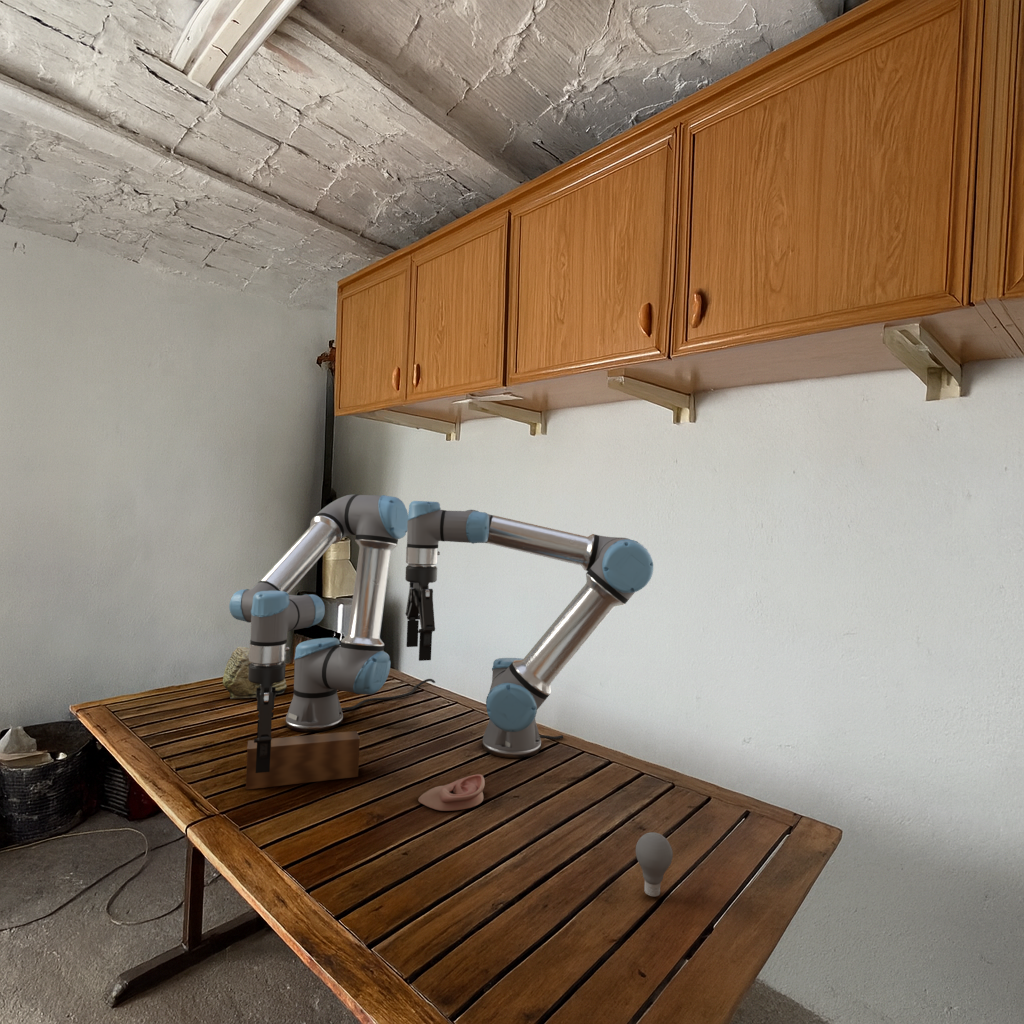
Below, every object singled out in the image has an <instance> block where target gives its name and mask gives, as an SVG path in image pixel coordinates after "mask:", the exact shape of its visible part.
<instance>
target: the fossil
mask: <svg viewBox="0 0 1024 1024" xmlns="http://www.w3.org/2000/svg"><path fill="white" fill-rule="evenodd" d="M249 649H250V647H247V646H246V647H245V646H238V647H237V648H236V649H235V650H233V651H232V653H231V656H230V657H229V659H228V660H227V663H226V666H225V668H224V671H223V675H222V676H223V677H222V685H223V687H224V688H225V690H226V691H228V693H229V698H230V699H250V698H256V691H257V688H260V684H258V683H257V684H255V683H252V682H250V681H249V680H248V674H249V665H250V664H251V662H250V661H249ZM272 687H276V695H281V694H284V693H285V691H286V689H287V687H288V686H287V680H286V677H285V678H284V680H283V681H281V682H278V683H273V684H272Z"/></svg>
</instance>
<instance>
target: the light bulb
mask: <svg viewBox="0 0 1024 1024" xmlns="http://www.w3.org/2000/svg"><path fill="white" fill-rule="evenodd" d="M673 853H674V852H673V848H672V845H671V844H670V842H669V841H668V839H667V838H666V837H665V836H664V835H662V834H661V833H659V832H654V831H652V832H647V833H644V834H643V835H641V837H639V839H638V840H637V842H636V843H635V857H636V860H637V862H638V864H639V866H640V868H641V870H642V877H643V879H644V888H643V890H644V893H645V894H646V895H648V896H650V897H658V896H660V895H661V884H662V882H663V880H664V875H665V873H666V872H667V870H668V869H669V868H670V866H671V864H672V861H673V858H674V857H673V856H674V854H673Z"/></svg>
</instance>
